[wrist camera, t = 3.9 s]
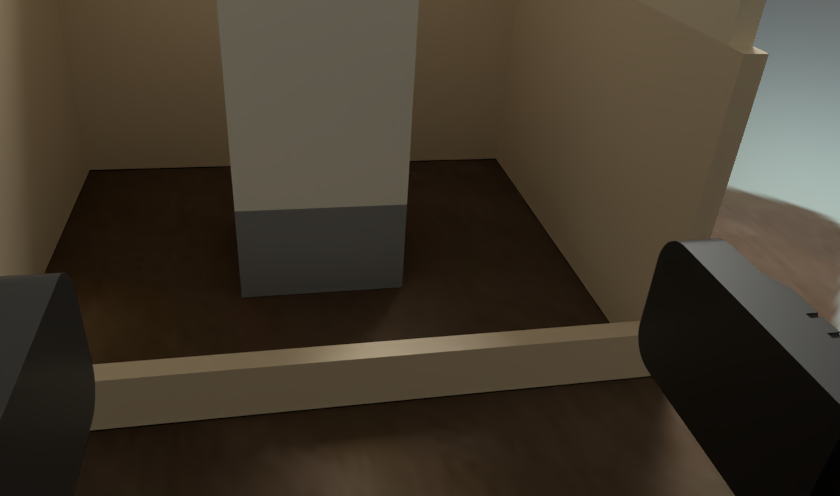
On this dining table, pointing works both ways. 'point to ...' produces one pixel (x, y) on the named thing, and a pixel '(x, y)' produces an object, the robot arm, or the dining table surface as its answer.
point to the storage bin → (430, 140)
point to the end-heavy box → (319, 140)
